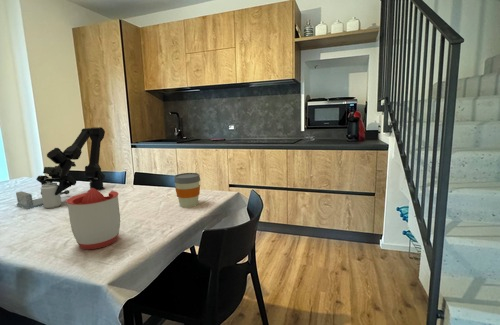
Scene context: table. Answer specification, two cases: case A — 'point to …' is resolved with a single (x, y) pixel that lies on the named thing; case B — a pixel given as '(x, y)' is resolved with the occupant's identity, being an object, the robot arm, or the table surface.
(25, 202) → the vise
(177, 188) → the reusable coffee cup
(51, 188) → the can
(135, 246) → the table surface
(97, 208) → the citrus juicer
